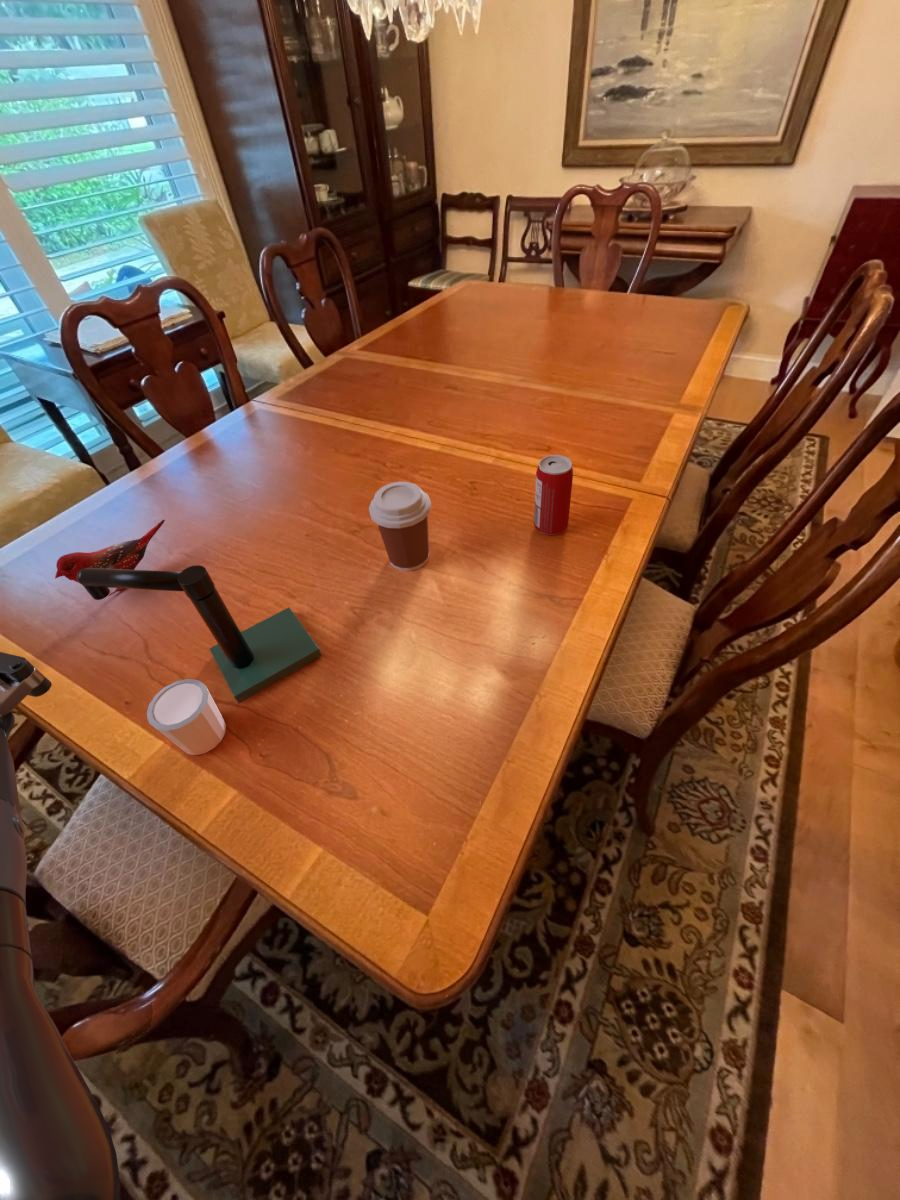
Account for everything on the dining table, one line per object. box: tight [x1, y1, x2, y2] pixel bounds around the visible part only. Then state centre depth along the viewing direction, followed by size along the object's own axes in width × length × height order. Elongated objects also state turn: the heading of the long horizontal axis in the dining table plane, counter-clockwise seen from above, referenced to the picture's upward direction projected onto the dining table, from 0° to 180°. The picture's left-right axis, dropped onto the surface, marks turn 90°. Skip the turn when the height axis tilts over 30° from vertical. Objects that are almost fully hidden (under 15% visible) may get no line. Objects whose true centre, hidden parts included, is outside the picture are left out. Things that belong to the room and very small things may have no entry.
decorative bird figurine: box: [54, 519, 166, 597], centre depth 83 cm, size 3×18×10 cm, turn 146°
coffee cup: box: [368, 481, 432, 572], centre depth 81 cm, size 9×9×12 cm
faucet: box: [189, 586, 323, 704], centre depth 68 cm, size 12×10×15 cm
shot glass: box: [146, 678, 227, 756], centre depth 63 cm, size 7×7×7 cm
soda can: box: [533, 454, 574, 536], centre depth 83 cm, size 6×6×12 cm
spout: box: [77, 564, 216, 601], centre depth 62 cm, size 17×3×4 cm, turn 82°
